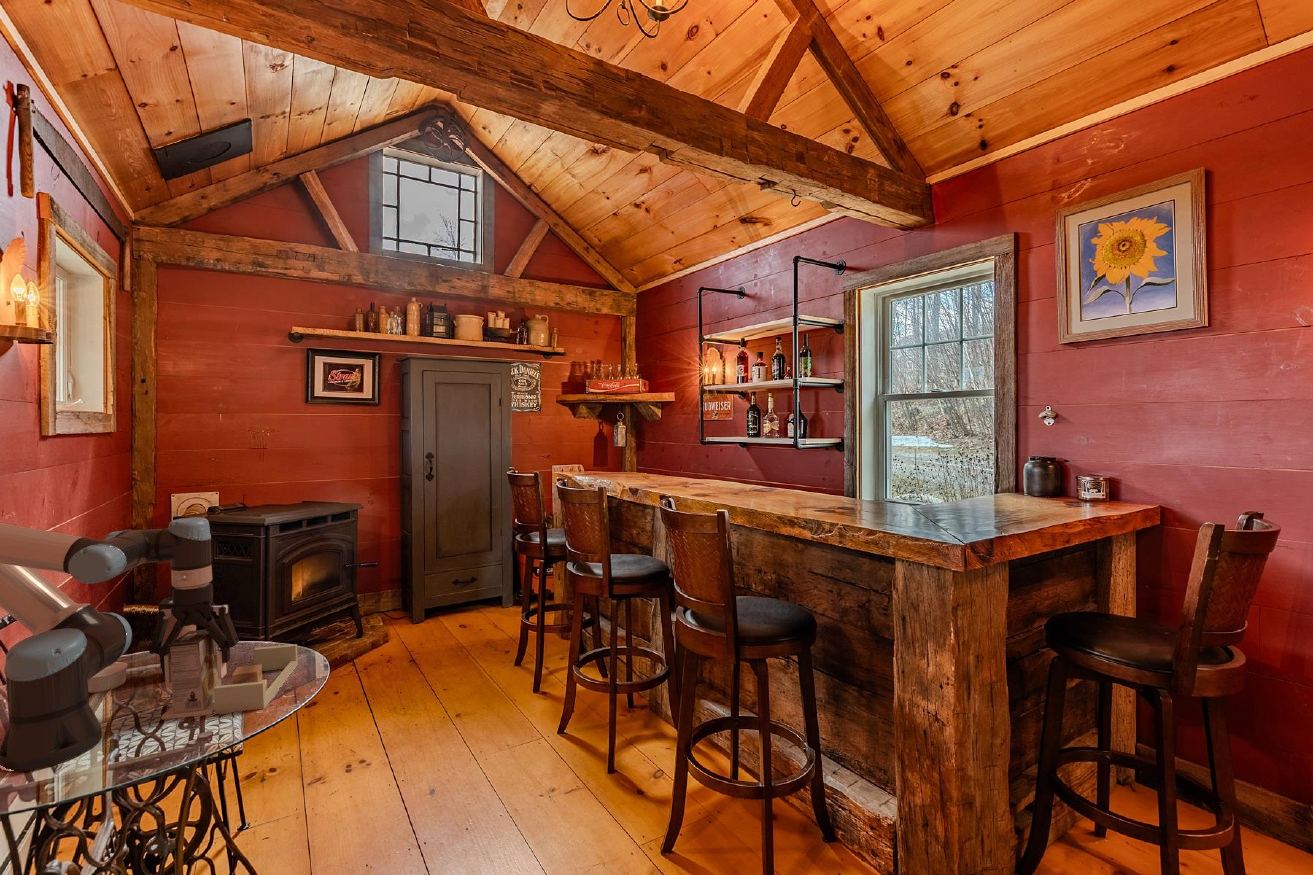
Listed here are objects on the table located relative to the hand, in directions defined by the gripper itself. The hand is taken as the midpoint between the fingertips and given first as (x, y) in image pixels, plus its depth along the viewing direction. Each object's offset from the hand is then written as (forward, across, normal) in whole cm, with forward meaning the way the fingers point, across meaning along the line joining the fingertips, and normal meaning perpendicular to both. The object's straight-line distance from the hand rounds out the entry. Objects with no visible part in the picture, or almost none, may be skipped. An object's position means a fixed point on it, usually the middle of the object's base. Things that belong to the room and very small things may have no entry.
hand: (196, 678), depth 144 cm
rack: (+7, +10, +7) cm, 14 cm away
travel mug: (+7, -13, +21) cm, 26 cm away
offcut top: (+3, +11, 0) cm, 11 cm away
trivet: (+7, 0, 0) cm, 7 cm away
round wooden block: (+7, -28, +18) cm, 34 cm away
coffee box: (+6, 0, 0) cm, 6 cm away
